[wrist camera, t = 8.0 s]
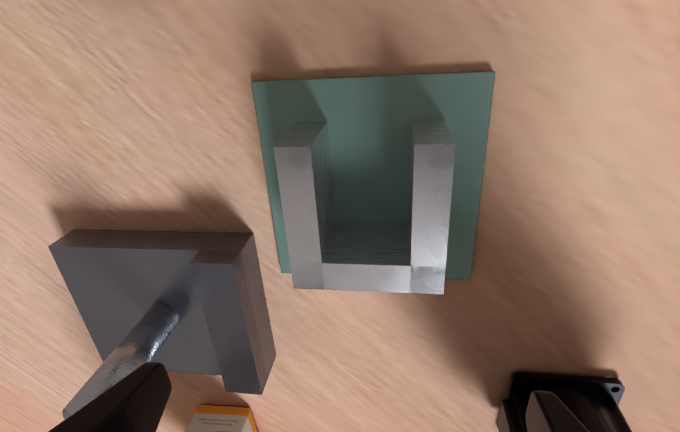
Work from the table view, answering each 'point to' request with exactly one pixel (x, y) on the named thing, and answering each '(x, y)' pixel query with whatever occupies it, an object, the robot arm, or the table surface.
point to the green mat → (383, 145)
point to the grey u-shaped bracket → (366, 237)
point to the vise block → (169, 305)
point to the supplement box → (221, 419)
